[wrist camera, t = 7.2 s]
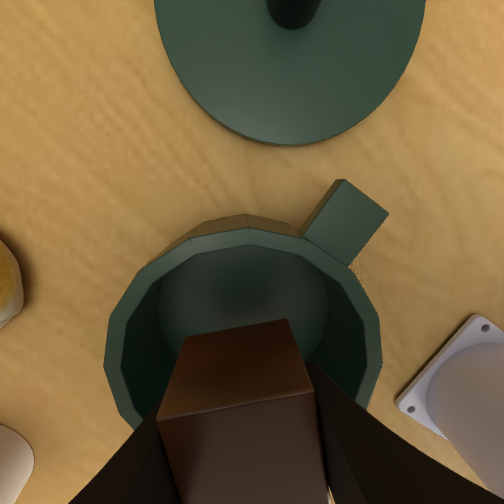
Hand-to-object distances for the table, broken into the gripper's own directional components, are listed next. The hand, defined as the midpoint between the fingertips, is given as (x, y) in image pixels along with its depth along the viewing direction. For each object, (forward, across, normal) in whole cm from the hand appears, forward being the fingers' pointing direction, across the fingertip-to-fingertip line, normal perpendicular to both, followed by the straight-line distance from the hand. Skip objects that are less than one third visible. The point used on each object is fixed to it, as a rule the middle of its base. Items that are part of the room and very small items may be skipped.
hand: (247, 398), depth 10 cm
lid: (+7, -5, -15) cm, 17 cm away
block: (+1, 0, 0) cm, 1 cm away
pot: (+7, 0, 0) cm, 7 cm away
